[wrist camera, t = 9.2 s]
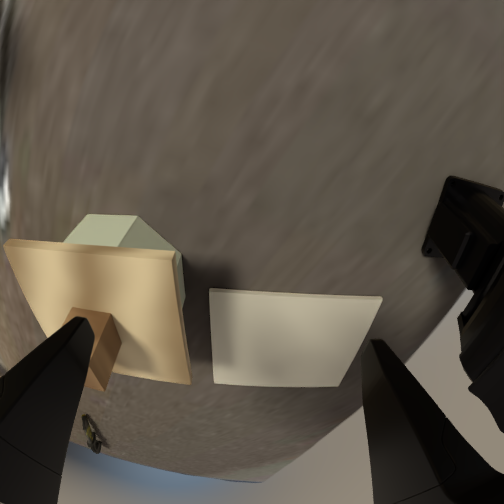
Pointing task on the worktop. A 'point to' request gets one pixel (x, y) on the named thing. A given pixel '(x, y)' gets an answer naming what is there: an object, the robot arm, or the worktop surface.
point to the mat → (286, 336)
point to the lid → (109, 304)
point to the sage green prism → (123, 237)
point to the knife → (91, 436)
